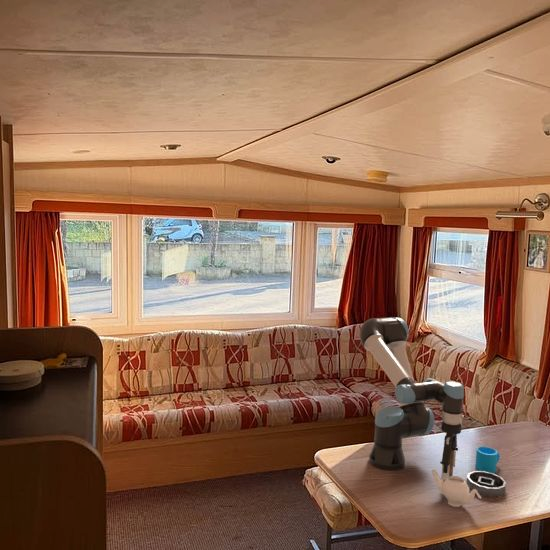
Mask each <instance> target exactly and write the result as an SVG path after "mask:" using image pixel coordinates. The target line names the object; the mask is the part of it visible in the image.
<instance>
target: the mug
mask: <svg viewBox="0 0 550 550" xmlns="http://www.w3.org/2000/svg"><path fill="white" fill-rule="evenodd" d="M475 453H476V454H475V467H476V468H475V470H476V471H478V470H479V471H485V472H489V473H494V474H496V472H497V464H498V462H499V461H500V454H499V451H497V450H496V449H494V448H493V447H489V446H478V447H477V448H476V452H475Z"/></svg>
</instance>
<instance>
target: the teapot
mask: <svg viewBox="0 0 550 550" xmlns="http://www.w3.org/2000/svg"><path fill="white" fill-rule="evenodd" d="M431 474H432V476H433V480H434V482H435V484H436V487H437V488H438V490H439V492H440V493H441V494H442V496H444V497H445V498H446V499H447V504H448V505H449V506H451V507H453V508H456V507H457V508H459V507H461V506H462V505H464V506H465V505H468V504H470V503H471V502H472V501H474V499H475V497H476V496H477V498H479V499H482V495H479V493H478V492H477V490H476V489H473V490H472V491H471V490H470V489H469V487H468V485H467V480H465V479H464V478H462V477H460V476H455V475H453V476H450V477H448V478H446V480H445V481H444V482H443V480H442V479H441V478H440V476H439V474H438V471H437V470H436V469H432V470H431ZM475 495H476V496H475Z"/></svg>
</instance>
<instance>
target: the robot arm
mask: <svg viewBox="0 0 550 550" xmlns="http://www.w3.org/2000/svg"><path fill="white" fill-rule="evenodd" d="M409 334H410V330H409V326H408V324H407V323H406V321H405V320H404V319H403V318H401V317H393V316H390V317H380V318H379V317H377V318H376V317H375V318H373V317H372V318H369V319H367V320H365V322H363V323H362V325H361V326H360V329H359V341H360V343H361V345H362V347H363V348H364V349H365V350H366V351H369V352H370V354H371V355H372V357H373V358H374V359H375V361H376V362H377V363H378V365H379V366H380V368H381V369H382V371H384V373H385V374H386V377H388V379H389V380H390V382H391V383H392V384H393V386H394V387H395V389H394V396H395V399H396V400H397V402H398V403H399V404H398V406H390V405H389V406H384V407H380V408H379V409H378V410H377V411H376V412H375V418H374V442H373V446H372V448H371V451H370V453H369V456H368V458H369V459H368V462H369V463H370V465H371V466H373V467H374V468H377V469H378V470H379V469H380V470H383V471H392V472H393V471H399V470H400V471H401V470H402V469H404V468H405V466H406V459H405V458H406V457H405V454H404V450H403V439H406V438H412V437H421V436H424V435H428V434H430V433H431V432H432V431H433V429H434V426H435V416H434V413H433V410H432V409H431V408H430V407H428V406H425V402H428V401H429V402H430V401H437V402H439V403H441V404H442V411H441V428H440V429H441V431H442V432H443V433H445V436H444V440H443V441H444V443H443V448H442V449H443V451H442V458H441V461H440V462H439V463H440V464H441V478H440V479H441V480H442V481H443V480H446V478H448V477H449V470H450V463H449V462H450V457H451V451H452V450H454V462H453V468H455V467H456V455H457V454H456V453H457V452H458V450H459V448H458V440H457V439H458V438H457V436H458V435H459V434H461V433H462V427H463V425H462V422H463V418H464V415H463V409H464V408H463V407H464V399H465V390H464V389H465V387H464V385H463V384H462V383H461V382H456V381H446V382H445V383H444V382H442V381H439V380H438V379H435V378H431V377H428V378H426V379H425V380H423V381H422V382H415V379H414V376H413V372H412V367H411V365H410V361H409V357H408V354H407V352H406V348H405V347H406V345H407V340H408V339H409V336H410V335H409Z"/></svg>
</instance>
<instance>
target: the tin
mask: <svg viewBox="0 0 550 550" xmlns="http://www.w3.org/2000/svg"><path fill="white" fill-rule="evenodd" d="M466 483H467V485H468V487H469V491H470V492H471V491H472V490H473V489H476V490H477V492H478V493H479V495H480V496H481V497H485V498H486V497H487V498H500V497H502V496H505V493H506V486H507V481H506V480H505V479H504V478H503V477H502V476H500V475H497V474H496V473H489V472H485V471H478V470H474V471H471V472H468V473H467V476H466Z"/></svg>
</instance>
